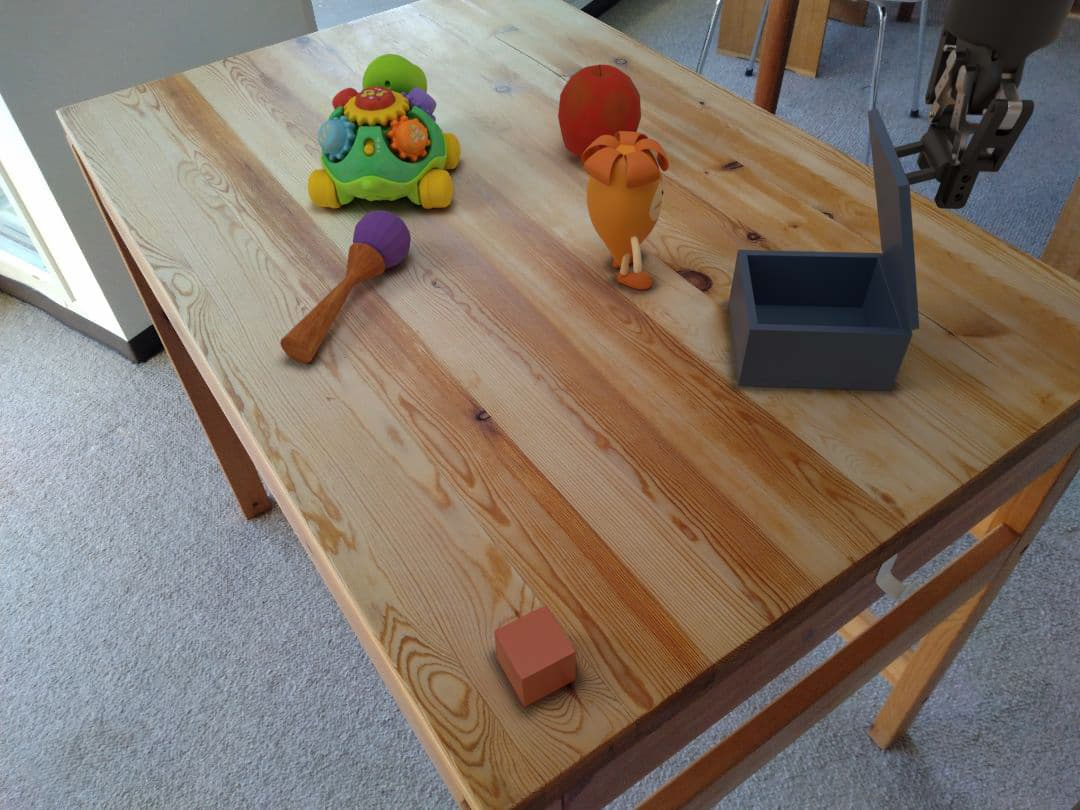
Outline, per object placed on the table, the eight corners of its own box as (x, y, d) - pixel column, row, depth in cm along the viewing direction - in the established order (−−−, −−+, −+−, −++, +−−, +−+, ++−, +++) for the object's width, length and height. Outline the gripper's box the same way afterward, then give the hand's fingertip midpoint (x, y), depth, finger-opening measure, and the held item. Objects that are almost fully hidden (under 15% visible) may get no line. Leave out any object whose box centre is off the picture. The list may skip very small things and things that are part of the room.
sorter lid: (898, 186, 62) (975, 166, 60) (867, 110, 70) (935, 91, 68) (909, 331, 71) (976, 317, 70) (881, 249, 79) (941, 235, 78)
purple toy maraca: (257, 324, 79) (362, 198, 91) (285, 369, 83) (382, 243, 95) (307, 329, 76) (409, 200, 88) (333, 376, 81) (427, 246, 92)
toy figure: (669, 303, 86) (683, 171, 75) (592, 313, 85) (594, 180, 74) (641, 236, 94) (650, 108, 83) (570, 244, 93) (570, 116, 82)
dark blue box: (738, 386, 77) (749, 329, 72) (728, 305, 85) (737, 249, 80) (891, 391, 76) (913, 334, 71) (866, 309, 84) (884, 252, 80)
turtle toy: (469, 127, 112) (461, 38, 104) (451, 227, 96) (440, 131, 88) (343, 128, 113) (325, 39, 104) (304, 228, 97) (278, 132, 88)
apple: (608, 184, 102) (611, 91, 93) (541, 159, 106) (539, 69, 98) (653, 148, 107) (660, 58, 99) (587, 126, 112) (589, 38, 103)
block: (575, 679, 58) (576, 651, 55) (524, 707, 57) (521, 680, 54) (547, 633, 60) (546, 604, 58) (497, 659, 59) (493, 630, 56)
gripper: (1129, 3, 51) (1015, 240, 63) (1046, -76, 60) (961, 143, 73) (1000, 0, 51) (911, 236, 63) (939, -78, 61) (872, 140, 73)
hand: (939, 185), depth 68 cm, fingers closed on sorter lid, 5 cm apart
